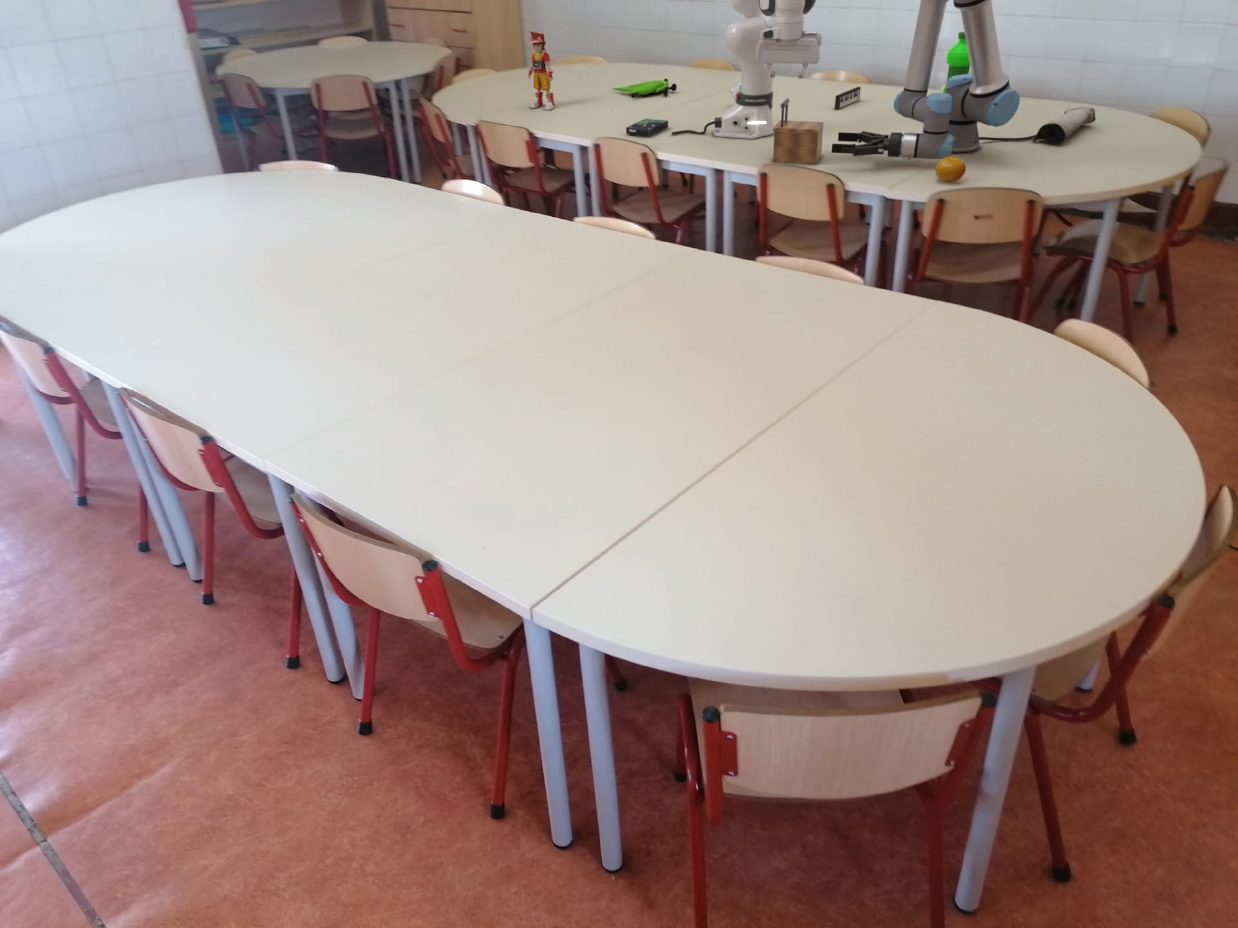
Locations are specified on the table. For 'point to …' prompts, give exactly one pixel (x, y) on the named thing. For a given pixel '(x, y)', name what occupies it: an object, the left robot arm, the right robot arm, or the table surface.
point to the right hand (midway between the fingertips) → (835, 142)
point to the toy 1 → (541, 71)
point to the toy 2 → (648, 88)
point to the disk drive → (647, 127)
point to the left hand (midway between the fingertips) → (786, 78)
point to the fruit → (950, 169)
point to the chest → (797, 147)
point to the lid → (795, 123)
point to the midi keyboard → (847, 97)
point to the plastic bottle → (958, 58)
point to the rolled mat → (1065, 125)
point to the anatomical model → (735, 89)
